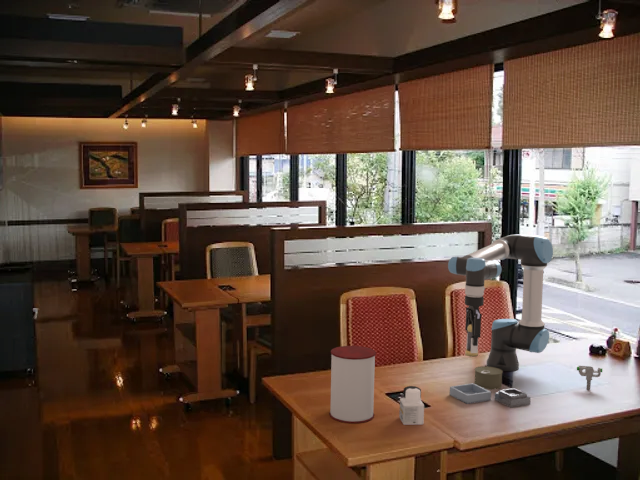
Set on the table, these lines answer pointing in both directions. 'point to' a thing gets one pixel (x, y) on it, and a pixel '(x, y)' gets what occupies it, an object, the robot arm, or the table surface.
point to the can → (488, 377)
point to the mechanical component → (588, 373)
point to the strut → (469, 343)
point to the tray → (470, 393)
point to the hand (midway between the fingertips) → (471, 350)
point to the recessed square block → (512, 397)
